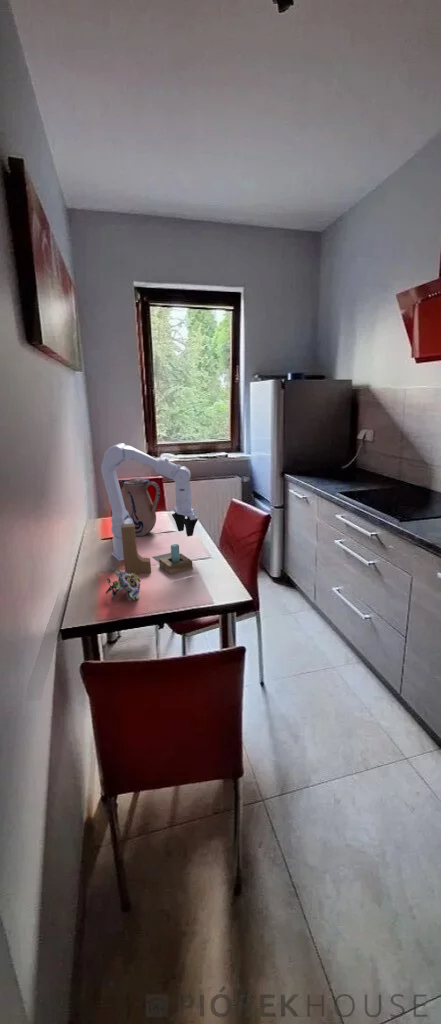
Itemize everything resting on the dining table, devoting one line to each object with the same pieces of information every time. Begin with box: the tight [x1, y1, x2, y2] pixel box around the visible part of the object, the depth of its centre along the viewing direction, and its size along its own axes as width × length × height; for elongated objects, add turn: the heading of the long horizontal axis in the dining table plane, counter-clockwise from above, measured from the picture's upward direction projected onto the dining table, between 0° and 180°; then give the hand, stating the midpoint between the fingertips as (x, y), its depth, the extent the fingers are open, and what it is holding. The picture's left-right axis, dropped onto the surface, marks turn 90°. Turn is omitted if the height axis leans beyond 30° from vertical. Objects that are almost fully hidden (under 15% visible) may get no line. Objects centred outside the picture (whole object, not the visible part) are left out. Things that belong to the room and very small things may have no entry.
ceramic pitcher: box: [119, 477, 161, 537], centre depth 192 cm, size 18×21×25 cm
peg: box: [170, 543, 181, 563], centre depth 154 cm, size 3×3×9 cm
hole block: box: [158, 553, 194, 575], centre depth 155 cm, size 9×9×4 cm
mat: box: [152, 552, 171, 563], centre depth 165 cm, size 8×8×1 cm
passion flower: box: [105, 569, 141, 602], centre depth 133 cm, size 11×11×12 cm
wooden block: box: [121, 524, 152, 575], centre depth 150 cm, size 9×4×18 cm, turn 101°
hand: (185, 533), depth 165 cm, fingers open, 7 cm apart
